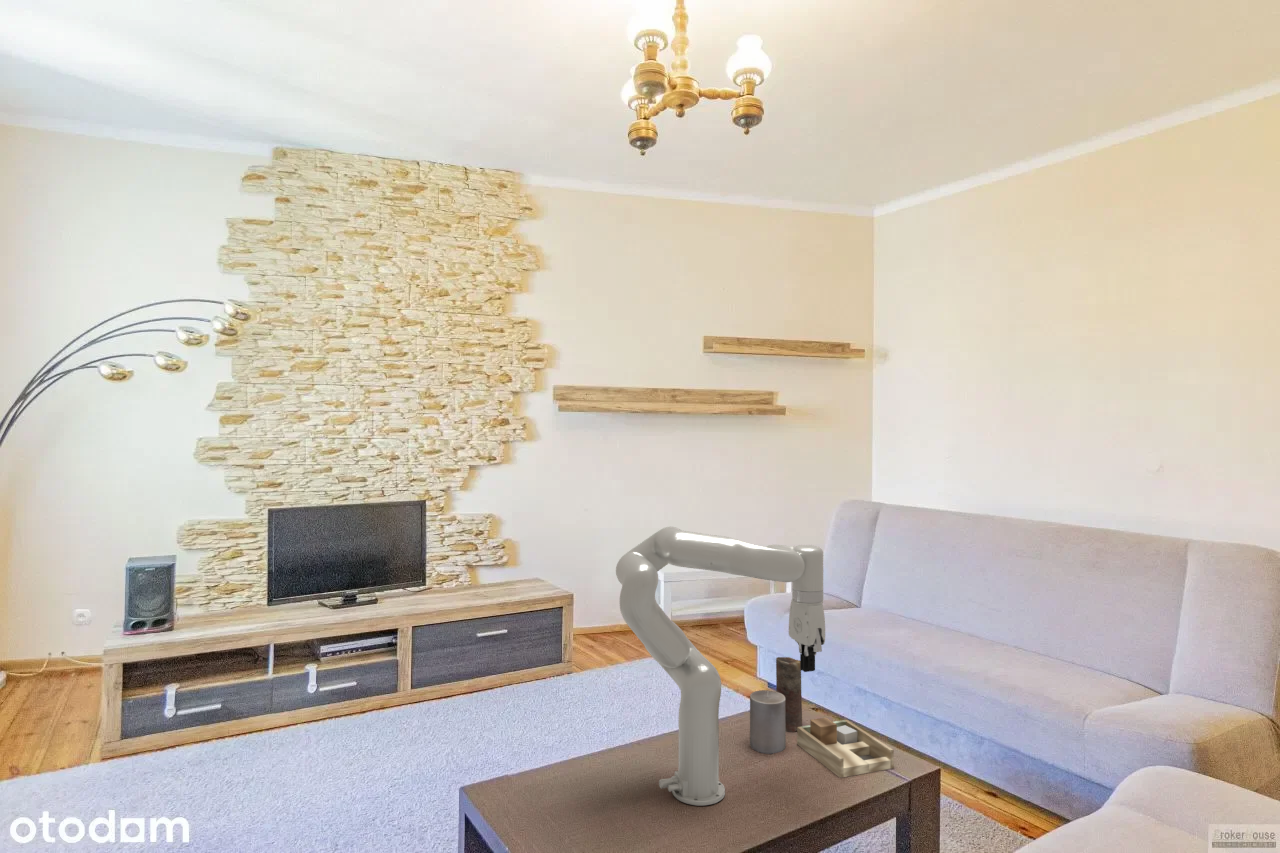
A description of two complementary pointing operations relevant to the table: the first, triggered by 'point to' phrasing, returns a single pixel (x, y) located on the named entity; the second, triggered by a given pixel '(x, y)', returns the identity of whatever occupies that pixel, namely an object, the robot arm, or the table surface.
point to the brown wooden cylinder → (790, 690)
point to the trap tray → (848, 752)
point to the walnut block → (824, 730)
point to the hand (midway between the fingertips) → (807, 670)
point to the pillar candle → (767, 721)
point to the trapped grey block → (846, 735)
